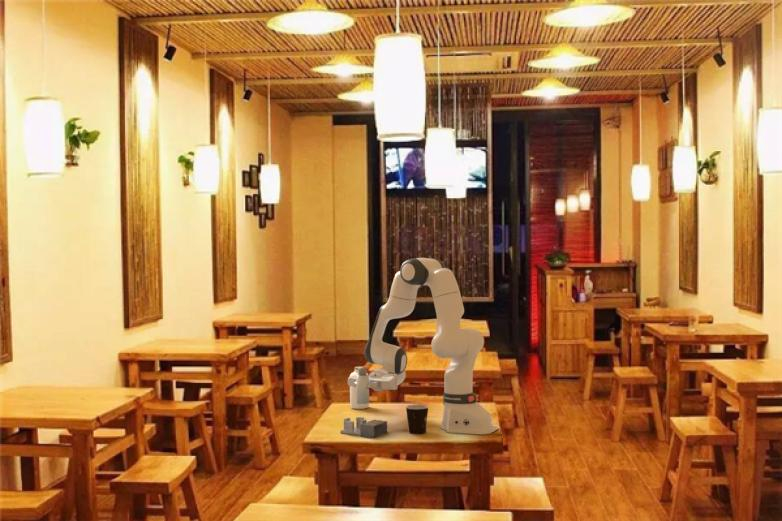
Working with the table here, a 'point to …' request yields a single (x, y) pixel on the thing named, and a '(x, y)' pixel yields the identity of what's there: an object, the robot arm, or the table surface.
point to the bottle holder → (365, 427)
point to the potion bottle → (355, 394)
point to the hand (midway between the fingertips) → (361, 385)
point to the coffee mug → (417, 418)
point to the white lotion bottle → (362, 386)
